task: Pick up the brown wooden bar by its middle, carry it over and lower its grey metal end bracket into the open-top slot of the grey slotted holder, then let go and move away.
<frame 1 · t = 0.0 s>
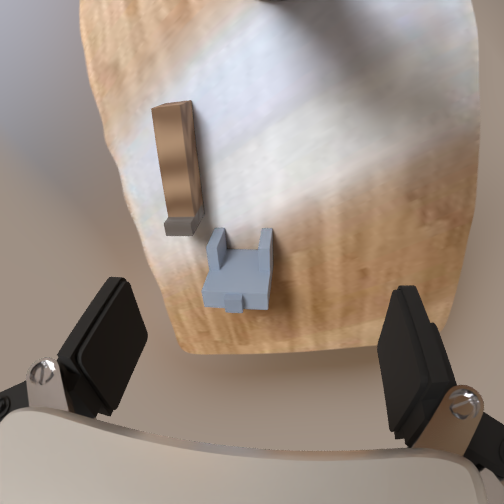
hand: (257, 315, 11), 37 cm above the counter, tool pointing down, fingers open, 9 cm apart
brown wooden bar: (184, 153, 46), on the counter
grey slotted holder: (244, 241, 53), on the counter
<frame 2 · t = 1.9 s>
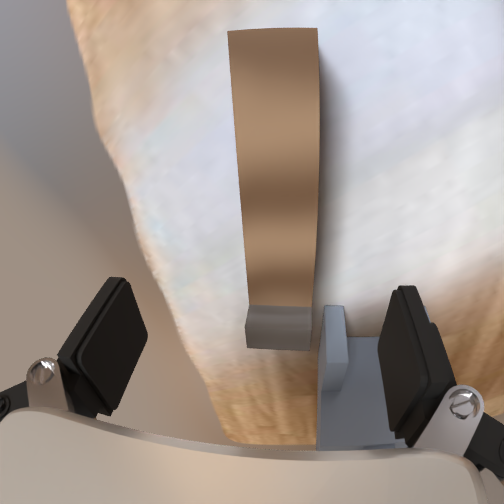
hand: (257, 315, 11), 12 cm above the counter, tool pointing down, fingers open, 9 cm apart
brown wooden bar: (283, 158, 20), on the counter
grey slotted holder: (371, 326, 27), on the counter
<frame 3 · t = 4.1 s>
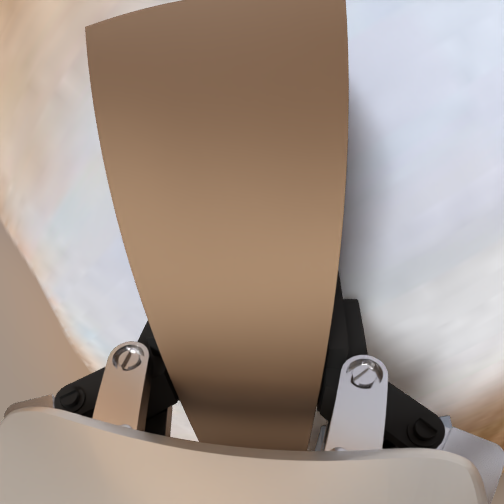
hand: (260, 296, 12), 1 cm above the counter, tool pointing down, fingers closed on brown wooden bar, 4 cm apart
brown wooden bar: (261, 264, 12), on the counter, touching gripper
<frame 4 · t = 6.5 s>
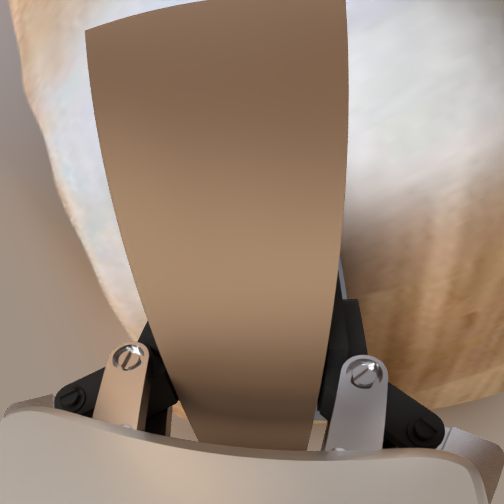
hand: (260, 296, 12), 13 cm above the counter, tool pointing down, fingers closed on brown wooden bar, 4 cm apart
brown wooden bar: (261, 265, 12), point 12 cm above the counter, touching gripper
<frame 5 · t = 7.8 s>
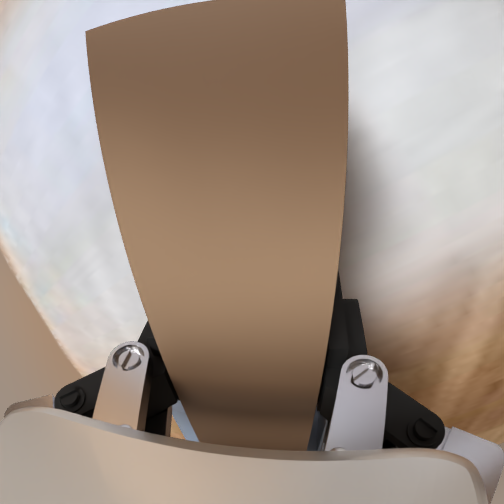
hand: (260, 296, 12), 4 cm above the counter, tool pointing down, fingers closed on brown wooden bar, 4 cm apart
brown wooden bar: (261, 265, 12), point 3 cm above the counter, touching gripper
grey slotted holder: (273, 357, 20), on the counter
when the fingers open (2 cm above the counter, at t = 9.0 s): brown wooden bar drops 2 cm, on the counter.
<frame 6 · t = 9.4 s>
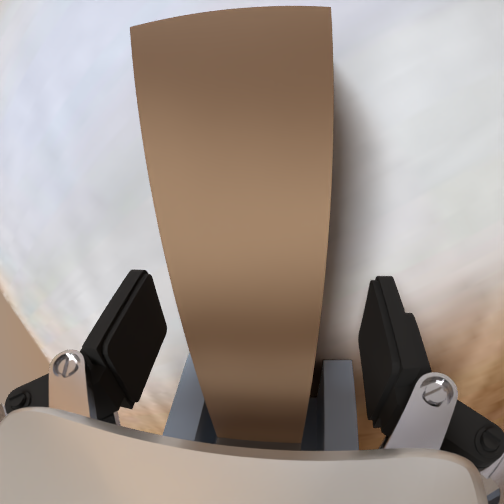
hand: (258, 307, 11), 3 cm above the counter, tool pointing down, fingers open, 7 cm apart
brown wooden bar: (264, 238, 13), on the counter
grey slotted holder: (269, 383, 19), on the counter
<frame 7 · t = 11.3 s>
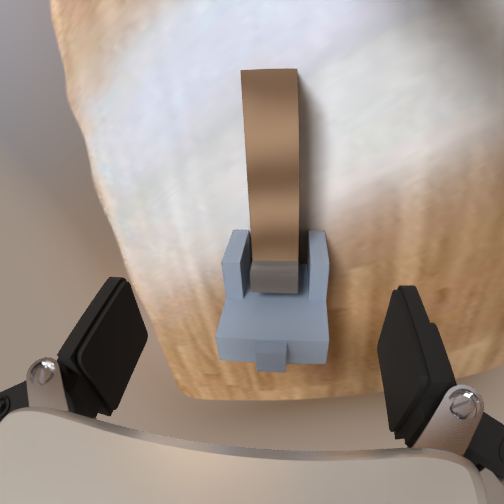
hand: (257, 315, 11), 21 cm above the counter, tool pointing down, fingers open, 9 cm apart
brown wooden bar: (276, 156, 29), on the counter
grey slotted holder: (278, 251, 34), on the counter
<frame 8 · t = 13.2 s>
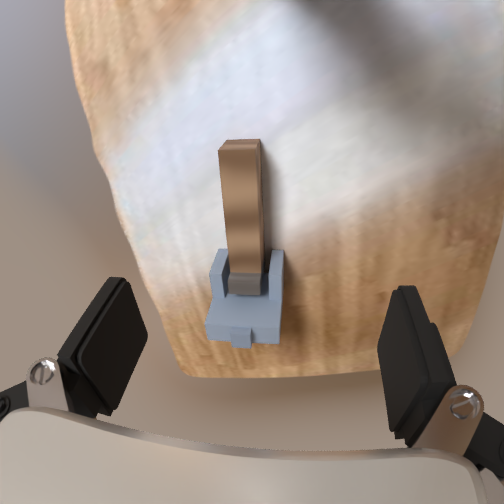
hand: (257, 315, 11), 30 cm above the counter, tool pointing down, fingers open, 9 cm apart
brown wooden bar: (247, 199, 42), on the counter
grey slotted holder: (251, 264, 47), on the counter
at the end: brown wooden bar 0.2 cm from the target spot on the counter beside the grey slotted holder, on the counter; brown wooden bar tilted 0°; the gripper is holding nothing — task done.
